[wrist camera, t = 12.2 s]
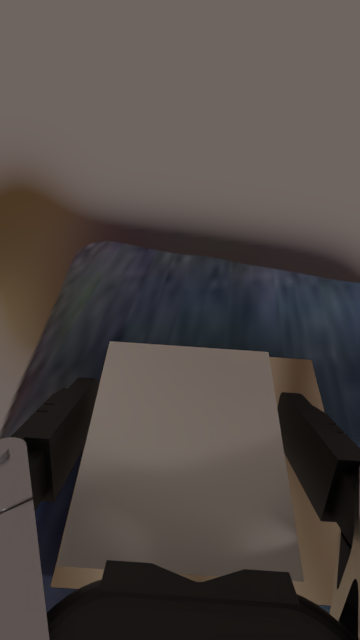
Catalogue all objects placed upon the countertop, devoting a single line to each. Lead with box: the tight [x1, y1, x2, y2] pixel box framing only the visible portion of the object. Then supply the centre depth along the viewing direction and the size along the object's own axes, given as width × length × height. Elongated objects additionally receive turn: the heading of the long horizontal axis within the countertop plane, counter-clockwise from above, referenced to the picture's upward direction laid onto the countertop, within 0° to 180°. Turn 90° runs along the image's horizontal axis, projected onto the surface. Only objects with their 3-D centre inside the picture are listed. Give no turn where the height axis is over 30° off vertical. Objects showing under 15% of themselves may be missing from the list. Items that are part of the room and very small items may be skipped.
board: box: [51, 350, 340, 605], centre depth 15 cm, size 16×13×1 cm
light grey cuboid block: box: [56, 341, 304, 582], centre depth 11 cm, size 6×6×8 cm
